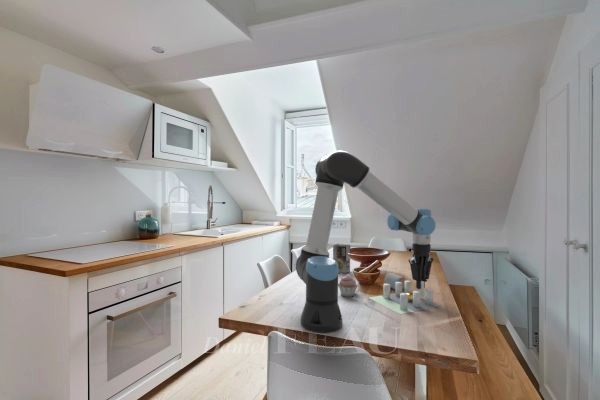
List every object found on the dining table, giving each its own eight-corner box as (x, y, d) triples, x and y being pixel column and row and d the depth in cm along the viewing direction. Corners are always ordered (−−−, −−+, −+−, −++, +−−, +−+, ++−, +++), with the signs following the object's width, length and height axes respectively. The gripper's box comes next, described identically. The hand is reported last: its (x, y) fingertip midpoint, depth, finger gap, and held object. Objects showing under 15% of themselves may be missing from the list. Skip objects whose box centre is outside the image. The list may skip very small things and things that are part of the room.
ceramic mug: (397, 293, 143) (398, 277, 143) (383, 288, 150) (384, 273, 150) (410, 289, 150) (411, 274, 149) (396, 285, 156) (397, 270, 156)
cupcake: (342, 290, 146) (342, 270, 146) (360, 294, 141) (360, 273, 141) (334, 296, 138) (334, 274, 138) (353, 300, 133) (353, 277, 133)
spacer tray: (400, 316, 116) (400, 298, 115) (368, 299, 134) (368, 284, 134) (440, 308, 125) (441, 291, 125) (405, 293, 143) (405, 279, 143)
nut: (410, 303, 128) (410, 295, 128) (401, 299, 132) (401, 292, 132) (418, 301, 130) (419, 294, 130) (410, 297, 134) (410, 290, 134)
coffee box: (350, 271, 183) (350, 245, 183) (346, 273, 178) (346, 246, 178) (336, 269, 188) (337, 243, 188) (332, 271, 183) (332, 245, 182)
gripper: (417, 245, 127) (415, 300, 127) (438, 243, 132) (437, 296, 133) (404, 242, 134) (403, 294, 134) (425, 240, 139) (424, 291, 140)
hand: (420, 295), depth 133 cm, fingers closed
